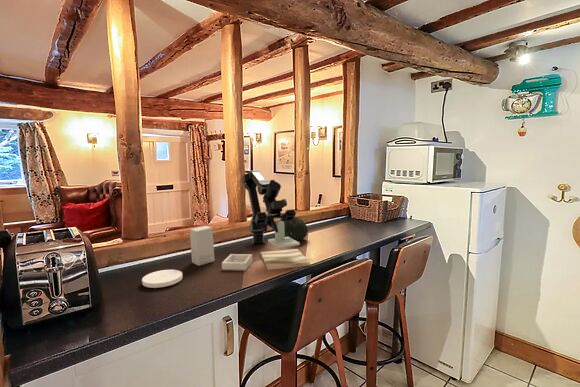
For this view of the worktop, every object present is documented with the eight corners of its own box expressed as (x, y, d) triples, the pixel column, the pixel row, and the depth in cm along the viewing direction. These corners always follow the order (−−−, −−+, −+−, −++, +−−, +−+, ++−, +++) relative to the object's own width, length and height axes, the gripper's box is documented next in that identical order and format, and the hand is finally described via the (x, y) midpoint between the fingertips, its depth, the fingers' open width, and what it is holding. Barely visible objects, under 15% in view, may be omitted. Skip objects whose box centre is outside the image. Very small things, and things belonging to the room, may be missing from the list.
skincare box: (207, 258, 143) (206, 225, 142) (215, 261, 139) (213, 227, 137) (191, 262, 138) (188, 228, 136) (198, 266, 133) (196, 230, 131)
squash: (312, 227, 178) (294, 208, 177) (311, 234, 163) (292, 214, 163) (294, 243, 181) (277, 224, 180) (292, 252, 166) (273, 231, 165)
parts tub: (230, 260, 139) (230, 254, 139) (252, 260, 138) (252, 254, 138) (222, 270, 128) (221, 262, 127) (245, 270, 126) (245, 263, 126)
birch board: (260, 255, 146) (260, 252, 146) (297, 252, 150) (297, 249, 150) (267, 269, 127) (267, 266, 126) (309, 265, 131) (309, 262, 131)
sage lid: (268, 242, 140) (267, 221, 139) (288, 240, 144) (287, 219, 143) (278, 249, 129) (277, 227, 128) (299, 246, 133) (299, 224, 132)
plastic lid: (189, 276, 122) (189, 270, 122) (168, 291, 108) (167, 284, 108) (158, 274, 125) (158, 268, 125) (133, 288, 111) (133, 282, 111)
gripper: (255, 194, 138) (265, 223, 129) (293, 192, 145) (305, 219, 136) (251, 209, 146) (259, 238, 137) (287, 206, 153) (297, 233, 144)
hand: (280, 231), depth 138 cm, fingers closed on sage lid, 3 cm apart
